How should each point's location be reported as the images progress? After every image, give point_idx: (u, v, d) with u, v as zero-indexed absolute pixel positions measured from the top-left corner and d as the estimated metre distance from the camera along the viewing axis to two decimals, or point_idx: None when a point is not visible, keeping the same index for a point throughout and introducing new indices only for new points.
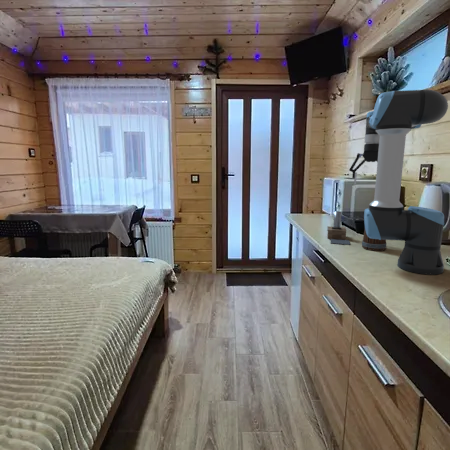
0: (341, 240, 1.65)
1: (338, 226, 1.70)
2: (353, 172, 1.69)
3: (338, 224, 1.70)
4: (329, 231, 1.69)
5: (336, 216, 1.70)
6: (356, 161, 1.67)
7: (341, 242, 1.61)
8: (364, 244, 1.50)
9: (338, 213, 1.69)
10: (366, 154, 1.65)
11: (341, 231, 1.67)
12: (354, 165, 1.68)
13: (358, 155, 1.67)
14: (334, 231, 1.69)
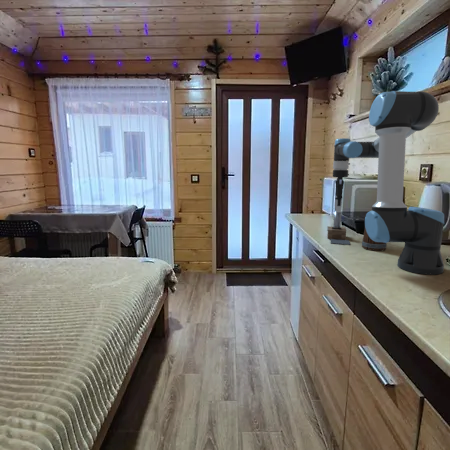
0: (341, 240, 1.65)
1: (338, 226, 1.70)
2: (336, 196, 1.77)
3: (338, 224, 1.70)
4: (329, 231, 1.69)
5: (336, 216, 1.70)
6: None
7: (341, 242, 1.61)
8: (364, 244, 1.50)
9: (338, 213, 1.69)
10: (337, 179, 1.70)
11: (341, 231, 1.67)
12: None
13: None
14: (334, 231, 1.69)
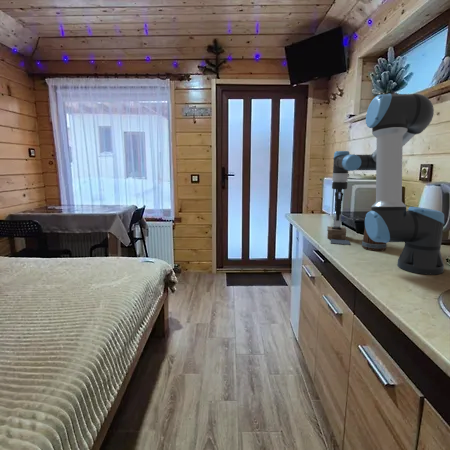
0: (341, 240, 1.65)
1: None
2: None
3: None
4: (329, 231, 1.69)
5: None
6: None
7: (341, 242, 1.61)
8: (364, 244, 1.50)
9: None
10: None
11: (341, 231, 1.67)
12: None
13: None
14: (334, 231, 1.69)
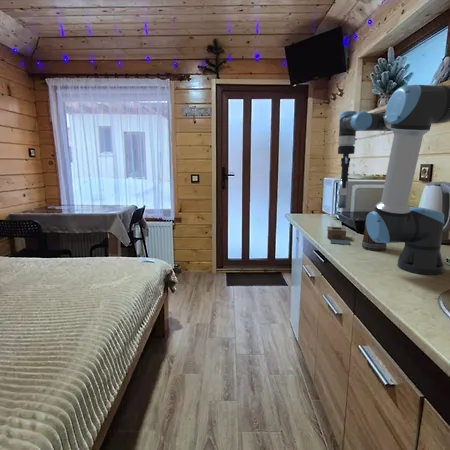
0: (341, 240, 1.65)
1: (344, 195, 1.57)
2: None
3: None
4: (329, 231, 1.69)
5: None
6: None
7: (341, 242, 1.61)
8: (364, 244, 1.50)
9: None
10: None
11: (341, 231, 1.67)
12: (341, 172, 1.61)
13: None
14: (334, 231, 1.69)
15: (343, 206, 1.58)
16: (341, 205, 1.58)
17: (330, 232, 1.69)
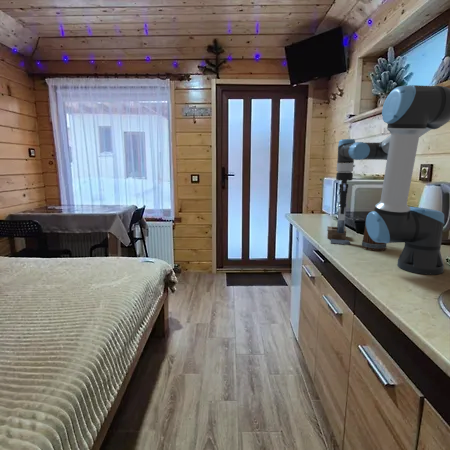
0: (341, 240, 1.65)
1: (342, 220, 1.60)
2: None
3: None
4: (329, 231, 1.69)
5: None
6: None
7: (341, 242, 1.61)
8: (364, 244, 1.50)
9: None
10: (341, 182, 1.60)
11: None
12: None
13: None
14: (334, 231, 1.69)
15: (341, 231, 1.61)
16: (339, 230, 1.61)
17: (330, 232, 1.69)
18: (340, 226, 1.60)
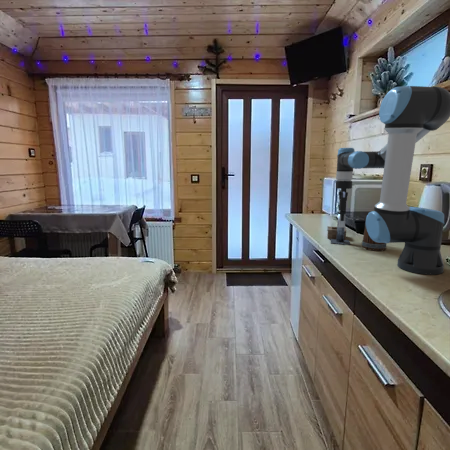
0: None
1: (342, 229, 1.60)
2: (339, 210, 1.66)
3: (342, 227, 1.60)
4: (329, 231, 1.69)
5: None
6: None
7: (341, 242, 1.61)
8: (364, 244, 1.50)
9: None
10: None
11: None
12: (339, 202, 1.66)
13: None
14: (334, 231, 1.69)
15: (341, 240, 1.61)
16: (339, 239, 1.62)
17: (330, 232, 1.69)
18: (340, 235, 1.61)
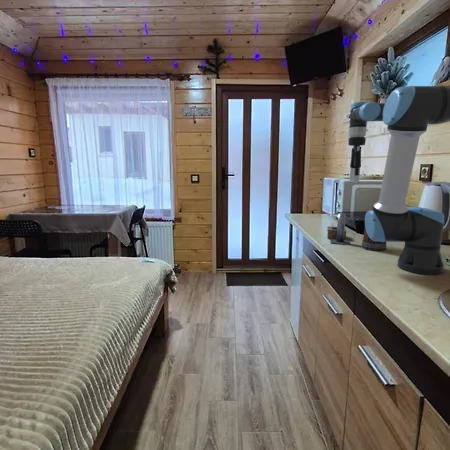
0: None
1: (342, 229, 1.60)
2: (351, 168, 1.64)
3: (342, 227, 1.60)
4: (329, 231, 1.69)
5: (340, 219, 1.60)
6: (351, 156, 1.62)
7: (341, 242, 1.61)
8: (364, 244, 1.50)
9: (342, 215, 1.59)
10: (353, 149, 1.57)
11: None
12: (351, 160, 1.63)
13: None
14: (334, 231, 1.69)
15: (341, 240, 1.61)
16: (339, 239, 1.62)
17: (330, 232, 1.69)
18: (340, 235, 1.61)
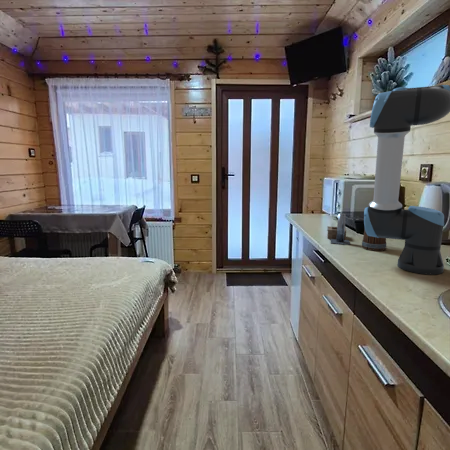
0: None
1: (342, 229, 1.60)
2: None
3: (342, 227, 1.60)
4: (329, 231, 1.69)
5: (340, 219, 1.60)
6: None
7: (341, 242, 1.61)
8: (364, 244, 1.50)
9: (342, 215, 1.59)
10: None
11: None
12: None
13: None
14: (334, 231, 1.69)
15: (341, 240, 1.61)
16: (339, 239, 1.62)
17: (330, 232, 1.69)
18: (340, 235, 1.61)
